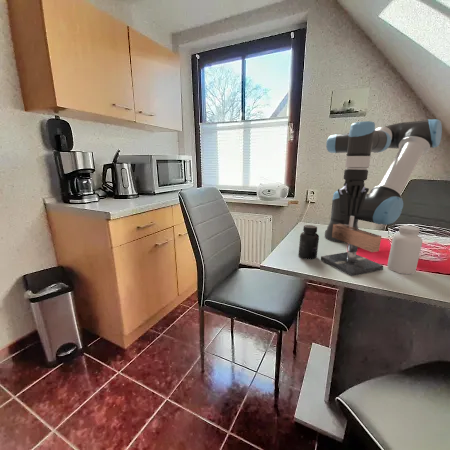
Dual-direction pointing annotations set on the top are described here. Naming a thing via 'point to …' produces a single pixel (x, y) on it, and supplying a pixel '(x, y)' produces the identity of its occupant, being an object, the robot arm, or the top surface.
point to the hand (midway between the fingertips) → (347, 232)
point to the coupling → (356, 238)
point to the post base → (351, 263)
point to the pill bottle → (405, 250)
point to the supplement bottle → (308, 242)
